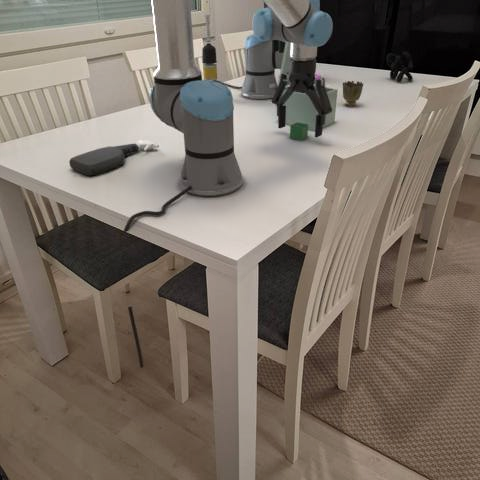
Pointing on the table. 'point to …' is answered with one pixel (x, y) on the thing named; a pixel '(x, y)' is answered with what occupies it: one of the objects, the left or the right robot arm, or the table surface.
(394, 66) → the squiggle
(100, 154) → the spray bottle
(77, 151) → the table surface
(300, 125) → the block
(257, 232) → the table surface
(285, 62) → the lid
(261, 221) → the table surface
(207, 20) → the filter
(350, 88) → the cup
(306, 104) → the chest
